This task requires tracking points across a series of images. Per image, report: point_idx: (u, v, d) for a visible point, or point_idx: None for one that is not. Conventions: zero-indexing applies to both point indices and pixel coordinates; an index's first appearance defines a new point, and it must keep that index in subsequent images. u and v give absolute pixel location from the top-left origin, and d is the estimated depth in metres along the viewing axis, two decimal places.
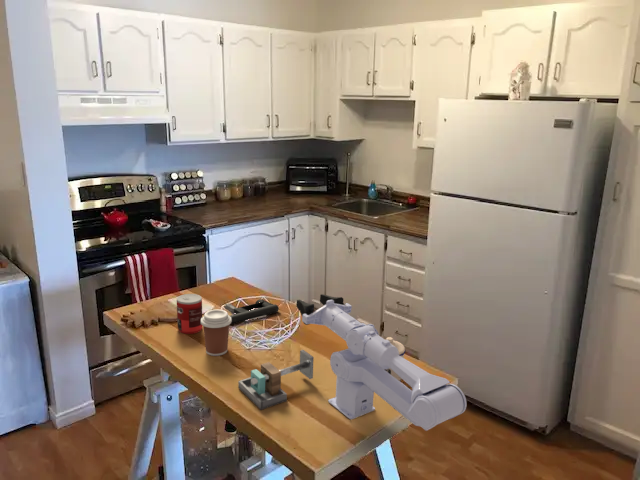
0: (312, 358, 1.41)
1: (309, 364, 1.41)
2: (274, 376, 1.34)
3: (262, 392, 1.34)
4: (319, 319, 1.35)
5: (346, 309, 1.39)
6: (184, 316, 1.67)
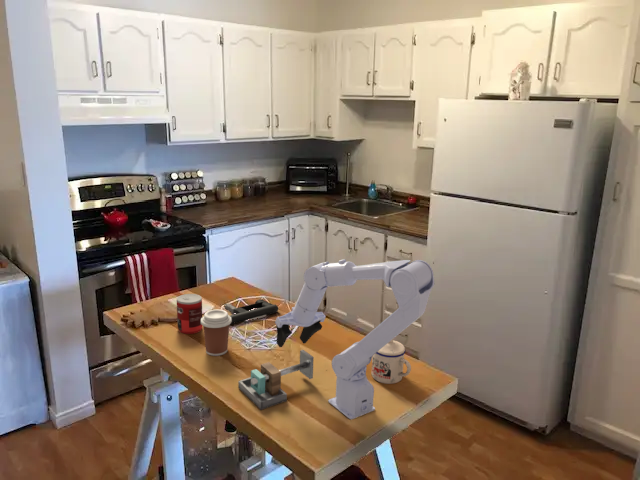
0: (312, 358, 1.41)
1: (309, 364, 1.41)
2: (274, 376, 1.34)
3: (262, 392, 1.34)
4: (293, 320, 1.35)
5: (318, 314, 1.41)
6: (184, 316, 1.67)
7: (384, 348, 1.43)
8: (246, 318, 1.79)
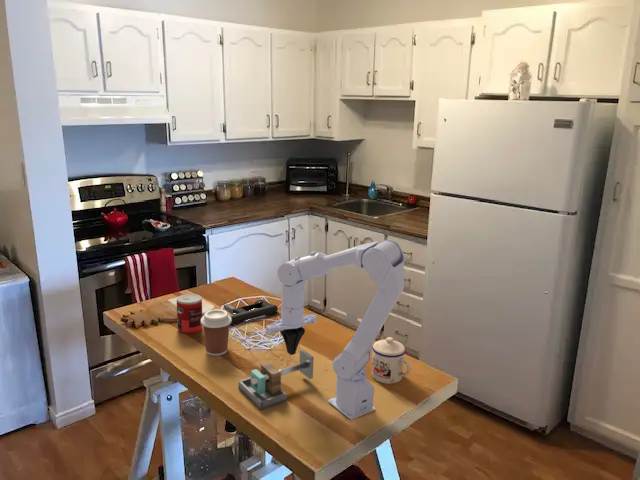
0: (312, 358, 1.41)
1: (309, 364, 1.41)
2: (274, 376, 1.34)
3: (262, 392, 1.34)
4: (283, 325, 1.35)
5: None
6: (184, 316, 1.67)
7: (384, 348, 1.43)
8: (246, 318, 1.79)
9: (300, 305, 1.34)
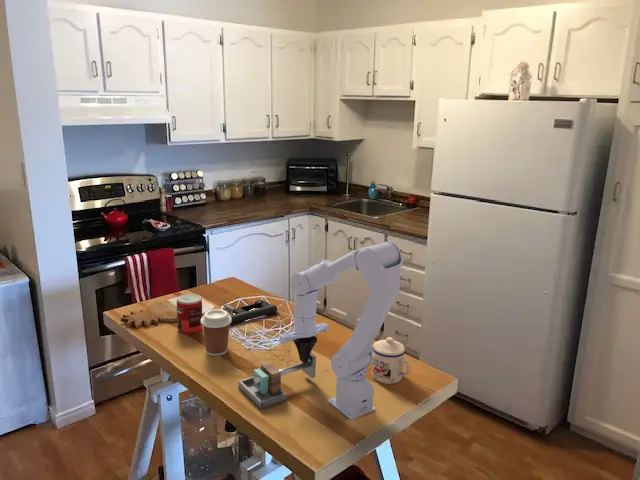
0: (314, 357, 1.41)
1: (311, 363, 1.42)
2: (274, 376, 1.34)
3: (265, 391, 1.34)
4: (297, 334, 1.38)
5: None
6: (184, 316, 1.67)
7: (384, 348, 1.43)
8: (245, 318, 1.79)
9: (311, 315, 1.37)
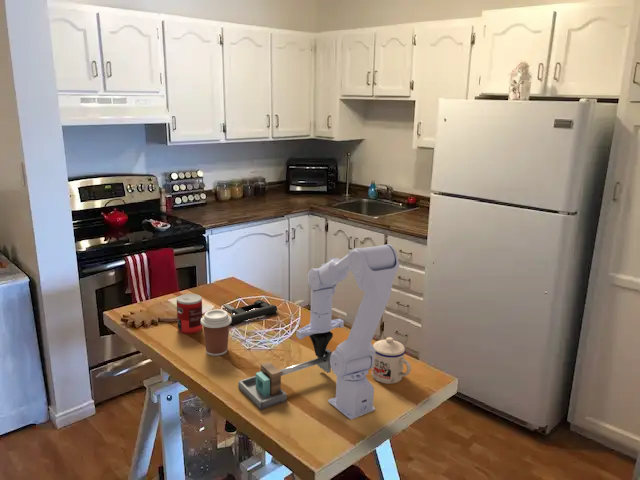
0: (330, 352, 1.44)
1: (327, 358, 1.45)
2: (274, 376, 1.34)
3: (267, 394, 1.35)
4: (313, 329, 1.41)
5: None
6: (184, 316, 1.67)
7: (384, 348, 1.43)
8: (245, 319, 1.79)
9: (324, 311, 1.39)
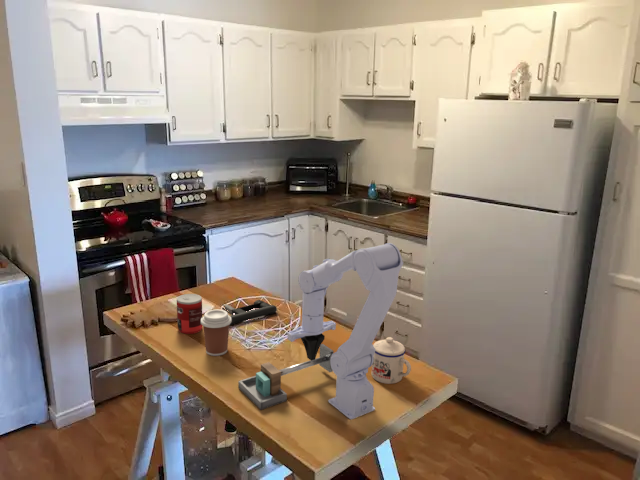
0: (332, 352, 1.45)
1: (329, 358, 1.45)
2: (274, 376, 1.34)
3: (267, 394, 1.35)
4: (304, 332, 1.39)
5: None
6: (184, 316, 1.67)
7: (384, 348, 1.43)
8: (244, 319, 1.79)
9: (317, 313, 1.38)
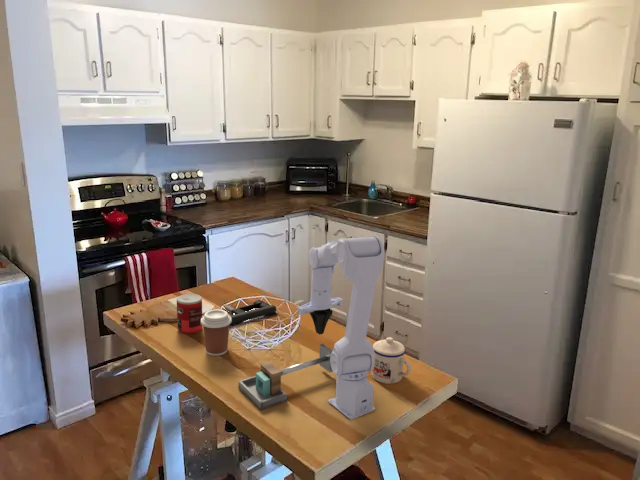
0: None
1: (329, 358, 1.45)
2: (274, 376, 1.34)
3: (267, 394, 1.35)
4: (313, 306, 1.47)
5: None
6: (184, 316, 1.67)
7: (384, 348, 1.43)
8: (244, 319, 1.79)
9: (322, 289, 1.45)
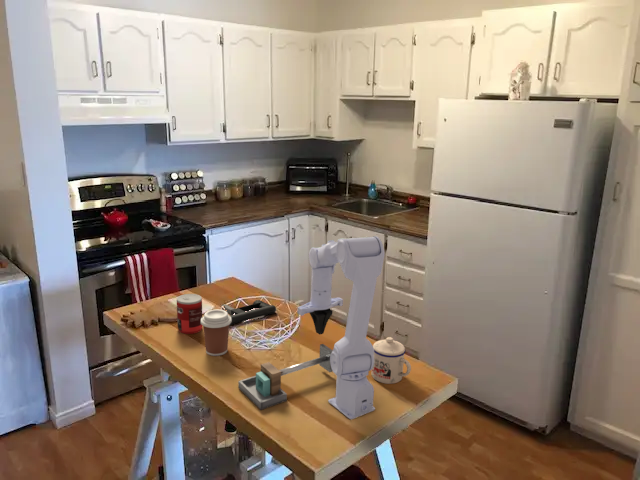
0: None
1: (329, 358, 1.45)
2: (274, 376, 1.34)
3: (267, 394, 1.35)
4: (313, 306, 1.47)
5: None
6: (184, 316, 1.67)
7: (384, 348, 1.43)
8: (244, 319, 1.79)
9: (322, 289, 1.45)
